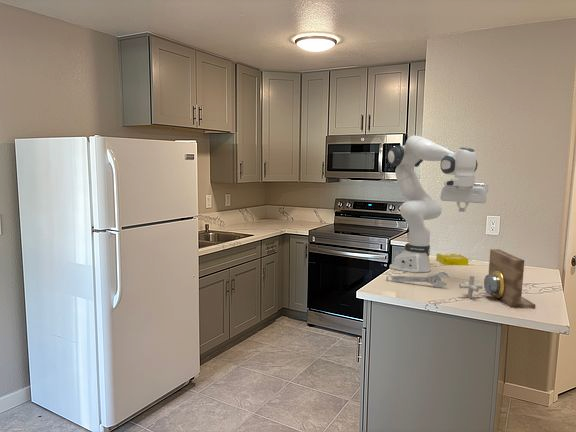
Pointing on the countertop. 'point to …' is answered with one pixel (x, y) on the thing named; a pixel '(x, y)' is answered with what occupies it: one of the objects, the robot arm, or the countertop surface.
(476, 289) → the pipe connector
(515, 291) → the board
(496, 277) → the door knob
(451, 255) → the element tile
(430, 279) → the wrench
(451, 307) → the countertop surface
